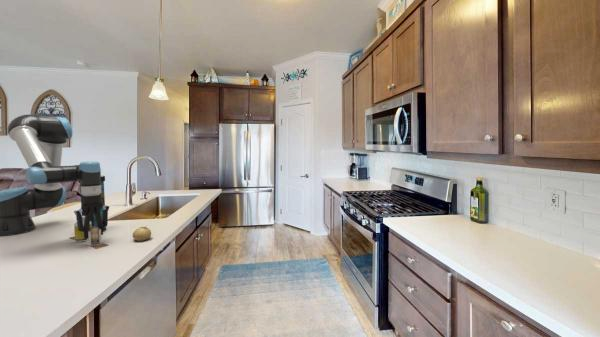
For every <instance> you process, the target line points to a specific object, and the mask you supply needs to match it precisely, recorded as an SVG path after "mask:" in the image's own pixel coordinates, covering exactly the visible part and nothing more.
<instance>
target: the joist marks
mask: <svg viewBox="0 0 600 337" xmlns="http://www.w3.org/2000/svg"><path fill="white" fill-rule="evenodd" d="M69 239H70V240H71V239H72V240H73V241H75V235H74V236H70V237H69ZM107 246H109V244H108V243H105V242H101V243H98V244H95V245H90V247H91V248H93V249H95V250H97V249H100V248H103V247H107Z"/></svg>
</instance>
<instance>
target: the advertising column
mask: <svg viewBox="0 0 600 337" xmlns="http://www.w3.org/2000/svg"><path fill="white" fill-rule="evenodd" d="M77 182H78V183H79V189H80V197H81V196H83V195H82V194H81V183H80V181H77ZM105 182H106V176H105V175H101V192H102V193H100V194H101V195H102V204H103V205H104V206H106V202H105V198H106V197H105ZM81 206H82V201H81V200H80V207H81ZM81 215H82V216H85V213H84V212H83V211H82V214H81ZM100 216H101V220H102V216H103V209H101V210H100ZM90 221H91V227H93V226H98V225H97V221H96V218H95V215H94V214H92V215H91V218H90ZM106 230H107V226H105V227H104V229H103V233H104V232H106Z"/></svg>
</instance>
